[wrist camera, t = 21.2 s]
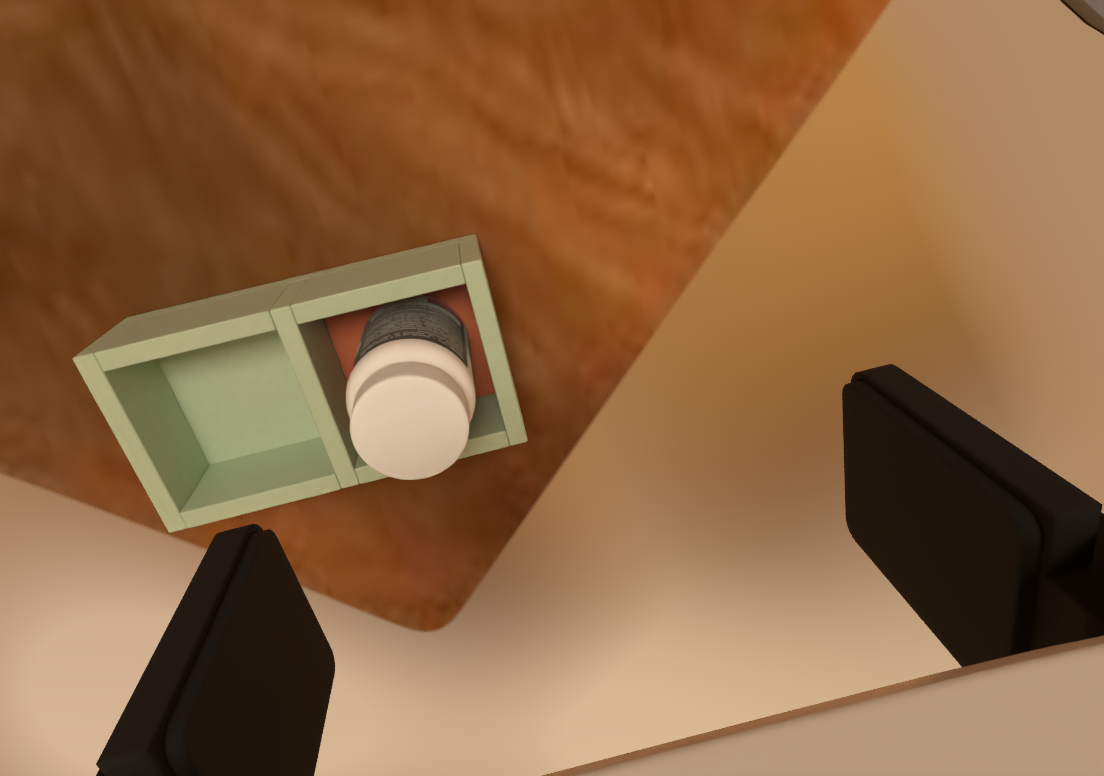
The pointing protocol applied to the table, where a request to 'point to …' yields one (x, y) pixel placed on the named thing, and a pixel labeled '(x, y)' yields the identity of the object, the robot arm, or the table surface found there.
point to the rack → (279, 382)
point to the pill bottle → (411, 389)
